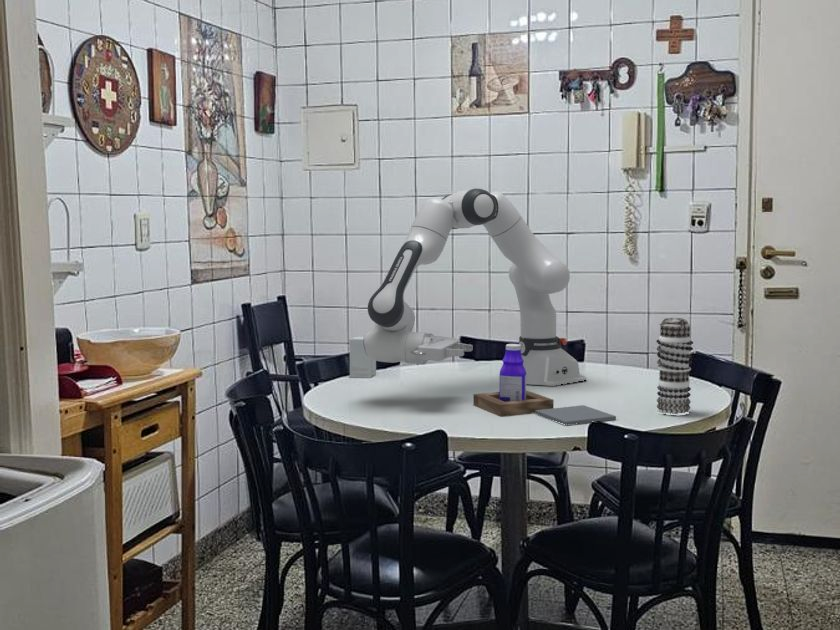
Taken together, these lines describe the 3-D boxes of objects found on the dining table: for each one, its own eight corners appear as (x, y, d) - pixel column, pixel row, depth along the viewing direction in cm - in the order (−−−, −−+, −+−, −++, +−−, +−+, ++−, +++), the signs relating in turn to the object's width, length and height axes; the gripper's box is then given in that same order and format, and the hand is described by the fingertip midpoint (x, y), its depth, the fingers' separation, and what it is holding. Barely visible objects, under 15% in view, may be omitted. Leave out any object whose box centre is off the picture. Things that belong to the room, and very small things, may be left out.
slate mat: (583, 408, 255) (583, 405, 255) (615, 419, 241) (615, 416, 241) (535, 414, 249) (535, 410, 249) (565, 425, 236) (565, 421, 236)
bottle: (528, 406, 259) (528, 343, 257) (523, 410, 254) (523, 346, 252) (502, 404, 261) (502, 342, 259) (497, 409, 256) (497, 345, 254)
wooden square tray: (524, 399, 268) (524, 389, 268) (553, 410, 253) (553, 399, 253) (473, 404, 262) (473, 394, 261) (500, 416, 247) (500, 405, 247)
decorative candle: (685, 418, 243) (688, 321, 240) (650, 414, 248) (652, 319, 245) (696, 411, 251) (698, 317, 248) (661, 407, 255) (663, 316, 253)
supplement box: (371, 378, 305) (370, 339, 303) (349, 377, 306) (348, 339, 305) (376, 374, 312) (376, 336, 311) (355, 373, 313) (354, 336, 312)
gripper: (408, 341, 253) (458, 343, 249) (430, 332, 272) (476, 334, 268) (408, 364, 254) (458, 367, 250) (429, 354, 273) (476, 356, 269)
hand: (468, 350), depth 259 cm, fingers open, 8 cm apart
